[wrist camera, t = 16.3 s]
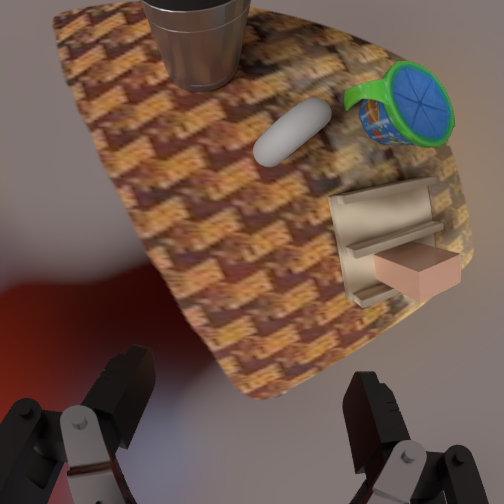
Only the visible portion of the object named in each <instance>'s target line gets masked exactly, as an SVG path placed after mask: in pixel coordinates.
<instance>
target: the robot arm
mask: <svg viewBox="0 0 504 504" xmlns="http://www.w3.org/2000/svg"><path fill="white" fill-rule="evenodd" d="M140 1H141V4H142V7H143V9H144V12H145V15H146V17H147V19H148V22H149V25H150V27H151V30H152V33H153V35H154V38H155V41H156V43H157V46H158V49H159V51H160V54H161V56H162V59H163V62H164V65H165V67H166V70H167V72H168V75H169V77H170V79H171V80H172V81H173V82H174V83H175V84H176V85H177V86H179V87H180V88H182V89H185V90H187V91H192V92H208V91H212V90H215V89H218V88H220V87H222V86H224V85H225V84H226V83H228V82H229V81H230V80H231V79H232V78H233V77H234V75H235V73H236V71H237V70H238V65H239V60H240V54H241V49H242V44H243V38H244V33H245V28H246V23H247V17H248V12H249V7H250V2H251V0H140ZM155 382H156V373H155V367H154V359H153V351H152V349H151V348H148V347H144V346H139V345H134V344H133V345H132V346H131V347H130V349H129V350H128V352H127V353H126V355H123V354H118V355H117V356H115V357H114V358H113V359H111V360H110V361H109V362H108V364H107V365H106V367H105V368H104V371H102V373H101V374H100V376H99V378H98V379H97V380H96V382H95V383H94V385H93V386H92V388H91V389H90V391H89V392H88V394H87V396H86V397H85V399H84V400H83V402H82V403H81V405H77V406H72V407H69V408H68V409H66V410H65V411H64V412H55V411H48V410H42V408H41V406H40V405H39V403H38V402H37V401H35V400H34V399H31V398H23V399H20V400H18V401H16V402H15V403H14V404H13V406H12V407H11V409H10V410H9V412H8V413H7V415H6V416H5V417H4V419H3V421H2V422H1V424H0V504H47V503H48V500H49V498H50V495H51V493H52V490H53V488H54V485H55V483H56V481H57V478H58V476H59V474H60V471H61V469H62V467H63V465H64V462H68V463H69V469H70V470H69V471H67V480H68V483H69V487H70V490H71V494H72V497H73V500H74V503H75V504H137V502H136V500H135V498H134V497H133V495H132V493H131V491H130V489H129V486H128V484H127V482H126V480H125V477H124V475H123V473H122V470H121V468H120V465H119V462H118V460H117V457H116V455H115V453H116V451H117V449H118V447H121V448H124V449H128V447H129V445H130V442H131V440H132V438H133V435H134V433H135V431H136V428H137V426H138V424H139V421H140V419H141V417H142V415H143V412H144V410H145V407H146V405H147V403H148V401H149V399H150V396H151V394H152V392H153V389H154V386H155ZM343 414H344V418H345V423H346V428H347V432H348V437H349V442H350V447H351V453H352V458H353V463H354V468H355V474H360V473H365V474H366V479H365V481H364V482H363V483H362V485H361V487H360V488H359V490H358V491H357V493H356V494H355V496H354V497H353V499H352V500H351V502H350V503H349V504H409V500H410V504H446V501H447V504H489V503H488V500H487V496H486V493H485V490H484V487H483V484H482V481H481V478H480V475H479V472H478V469H477V466H476V464H475V461H474V458H473V456H472V453H471V452H470V451H469V449H468V448H466V447H464V446H462V445H454V446H451V447H450V448H449V449H448V450H447V451H446V452H445V453H439V452H428V451H425V449H424V448H423V446H422V445H421V444H419V443H418V442H415V441H412V440H411V439H410V436H409V433H408V431H407V428H406V425H405V422H404V420H403V417H402V415H401V412H400V411H399V407H398V404H397V403H396V399H395V397H394V395H393V392H392V391H391V390H390V389H389V388H388V387H387V386H386V384H385V383H379V381H378V378H377V375H376V373H375V372H374V371H364V372H363V371H357V372H355V373H354V375H353V378H352V380H351V382H350V384H349V387H348V389H347V391H346V393H345V396H344V399H343ZM443 491H444V492H443ZM444 493H445V496H446V501H445V496H444Z"/></svg>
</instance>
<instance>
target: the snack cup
mask: <svg viewBox="0 0 504 504" xmlns="http://www.w3.org/2000/svg"><path fill="white" fill-rule="evenodd" d="M361 99H364V100H363V101H362V103H361V106H360V111H359V118H360V119H361V123H362V125H363V128H364V130H365V131H366V132H367V134H368V135H369V136H370V138H371V139H373V140H374V141H377V142H379V143H380V144H385V145H417V146H420V147H427V148H428V147H440V146H442V145H443V144H444V143H445V142H446V141H447V140H448V139H449V137H450V135H451V133H452V130H453V127H454V126H455V120H454V119H455V118H454V113H453V109H452V106H451V102H450V99H449V97H448V95H447V92H446V90H445V89H444V87H443V86H442V84H441V83H440V82H439V80H438V79H437V78H436V77H435V76H434V75H433V74H432V73H431V72H430V71H429V70H428V69H426V68H425V67H423V66H421V65H420V64H417V63H414V62H409V61H398V62H396V63H394V65H393V66H392V67H391V68H389V69H388V70H387V72H386V73H385V75H384V77H383V79H381V80H374V81H369V82H365V83H362V84H359V85H356V86H354V87H351V88H348V89H346V91H345V93H344V108H345V110H346V111H348V110H349V108H350V107H352V106H353V105H354V104H356V103H357V102H359V101H360V100H361Z"/></svg>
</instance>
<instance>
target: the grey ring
mask: <svg viewBox="0 0 504 504" xmlns="http://www.w3.org/2000/svg"><path fill="white" fill-rule="evenodd" d="M330 119H331V108H330V106H329V105H328V103H327V102H326V101H324V100H323V99H321V98H317V97H312V98H308V99H306V100H304V101H302V102H301V103H299V104H298V105H296V106H295V107H293V108H292V109H291V110H289V111H288V112H287V113H285V114H284V115H283V116H282V117H280V118H279V119H278V120H277V121H276V122H275V123H274V124H272V125H271V126H270V127H269V128H268V129H267V130H266V131H265V132H264V133H263V134H262V135H261V136H260V138H259V139H258V140H257V141H256V143H255V145H254V147H253V154H254V157H255V159H256V161H257V162H258V163H259V164H261V165H263V166H265V167H272V166H276V165H277V164H279V163H281V162H282V161H283V160H284V159H286V158H287V157H288V156H289V155H291V154H292V153H293V152H294V151H295V150H297V149H298V148H299V147H300V146H302V145H303V144H304V143H305V142H306V141H308V140H309V139H310V138H311V137H312V136H314V135H315V134H316V133H317V132H318V131H320V130H321V129H322V128H323V127H324V126H325V125H326V124H327V123H328V122H329V121H330Z"/></svg>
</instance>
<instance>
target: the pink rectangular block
mask: <svg viewBox="0 0 504 504" xmlns="http://www.w3.org/2000/svg"><path fill="white" fill-rule="evenodd" d="M373 257H374V264H375V272H376V279H377V280H379V281H381V282H383V283H385V284H387V285H389V286H390V287H392V288H394V289H396V290H398V291H400V292H402V293H404V294H405V295H407V296H409V297H411V298H413V299H415V300H417V301H418V302H422V301H424V300H426V299H428V298H430V297H432V296H434V295H436V294H438V293H441V292H442V291H444V290H446V289H448V288H450V287H452V286H454V285H456V284H458V283H460V282H461V258H460V254H459V253H455V252H451V251H448V250H444V249H440V248H436V247H432V246H428V245H425V244H421V243H417V242H413V241H412V242H409V243H406V244H404V245H401V246H398V247H395V248H392V249H389V250H386V251H383V252H380V253H377V254H374V255H373Z"/></svg>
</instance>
